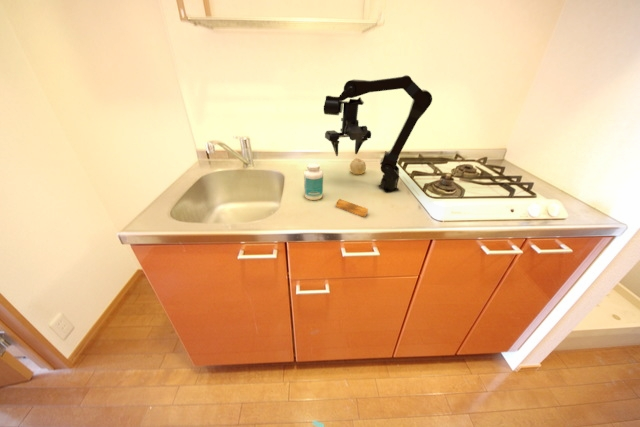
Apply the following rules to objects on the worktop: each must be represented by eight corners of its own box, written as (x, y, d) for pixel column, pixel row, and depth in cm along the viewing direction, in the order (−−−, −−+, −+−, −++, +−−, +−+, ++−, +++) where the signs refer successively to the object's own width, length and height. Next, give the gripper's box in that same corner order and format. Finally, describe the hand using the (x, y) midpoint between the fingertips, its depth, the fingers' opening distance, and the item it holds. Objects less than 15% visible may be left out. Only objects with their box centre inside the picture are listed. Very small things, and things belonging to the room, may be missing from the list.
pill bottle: (326, 197, 93) (327, 166, 86) (311, 202, 89) (311, 170, 82) (315, 190, 98) (315, 160, 91) (301, 195, 94) (300, 164, 87)
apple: (349, 168, 119) (358, 155, 116) (361, 177, 117) (370, 165, 114) (344, 168, 112) (353, 155, 109) (357, 178, 110) (366, 165, 107)
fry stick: (336, 206, 87) (336, 201, 86) (339, 204, 89) (339, 198, 87) (364, 217, 81) (365, 211, 80) (367, 214, 83) (368, 208, 82)
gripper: (336, 121, 81) (333, 163, 89) (381, 119, 86) (374, 159, 95) (325, 115, 89) (323, 154, 98) (366, 114, 95) (362, 151, 103)
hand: (346, 154), depth 98 cm, fingers open, 9 cm apart
